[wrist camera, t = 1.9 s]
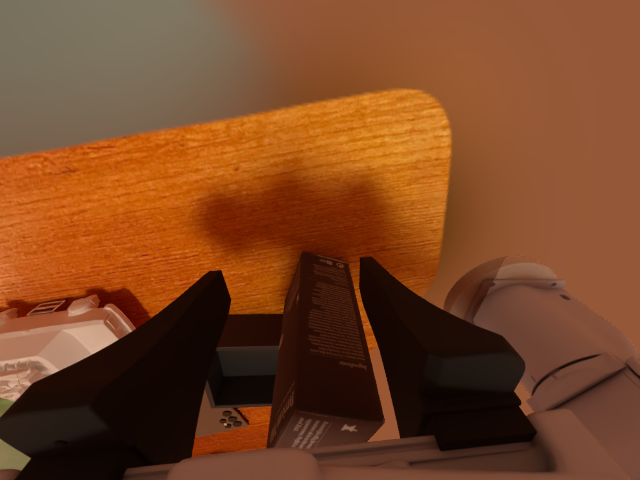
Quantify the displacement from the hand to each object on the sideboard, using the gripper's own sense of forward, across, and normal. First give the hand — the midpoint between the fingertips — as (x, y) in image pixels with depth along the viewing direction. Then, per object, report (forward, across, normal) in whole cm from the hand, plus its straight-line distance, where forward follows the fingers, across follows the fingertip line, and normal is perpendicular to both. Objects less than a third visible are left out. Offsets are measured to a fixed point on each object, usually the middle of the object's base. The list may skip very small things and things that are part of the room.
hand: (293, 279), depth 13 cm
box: (+7, -1, +6) cm, 9 cm away
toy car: (+7, +20, +8) cm, 23 cm away
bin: (+7, +5, +14) cm, 16 cm away
